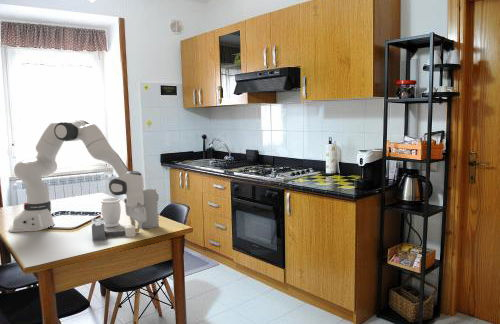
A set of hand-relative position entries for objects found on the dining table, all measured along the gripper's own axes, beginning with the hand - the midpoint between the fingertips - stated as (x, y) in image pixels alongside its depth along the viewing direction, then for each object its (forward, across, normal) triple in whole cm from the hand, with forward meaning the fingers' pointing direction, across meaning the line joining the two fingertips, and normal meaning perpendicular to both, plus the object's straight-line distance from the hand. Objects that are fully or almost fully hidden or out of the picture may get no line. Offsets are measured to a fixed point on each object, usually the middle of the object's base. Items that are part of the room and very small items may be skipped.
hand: (136, 226), depth 209 cm
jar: (+4, +22, +6) cm, 24 cm away
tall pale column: (+4, +5, -10) cm, 12 cm away
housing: (+3, +5, +18) cm, 19 cm away
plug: (+3, +1, +8) cm, 9 cm away
